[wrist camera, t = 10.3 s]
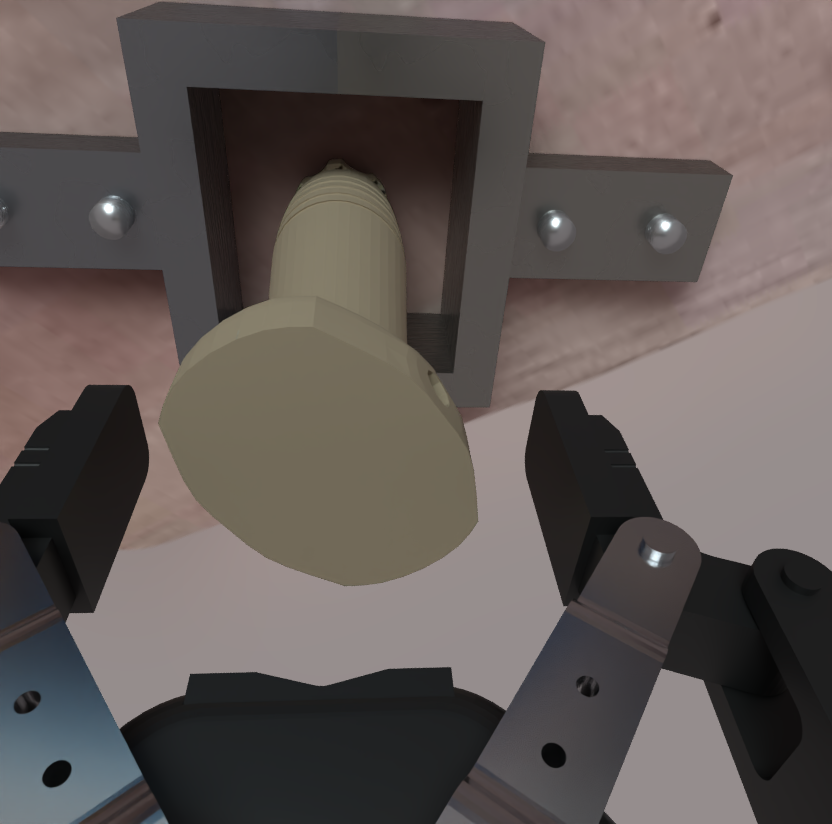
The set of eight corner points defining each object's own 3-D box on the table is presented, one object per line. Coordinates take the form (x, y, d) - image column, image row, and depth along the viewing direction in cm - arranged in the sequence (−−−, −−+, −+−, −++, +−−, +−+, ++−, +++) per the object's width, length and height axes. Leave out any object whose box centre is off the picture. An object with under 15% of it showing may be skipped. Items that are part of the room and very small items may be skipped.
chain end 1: (5, 339, 26) (-50, 405, 23) (-121, -15, 19) (-231, -2, 16) (343, 344, 28) (341, 406, 24) (340, 12, 21) (337, 30, 17)
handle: (345, 81, 22) (332, 273, 10) (443, 236, 25) (524, 519, 13) (232, 163, 23) (99, 424, 11) (341, 300, 26) (330, 612, 14)
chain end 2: (343, 344, 28) (341, 406, 24) (340, 12, 21) (337, 30, 17) (651, 347, 29) (694, 408, 25) (749, 36, 22) (826, 58, 18)
